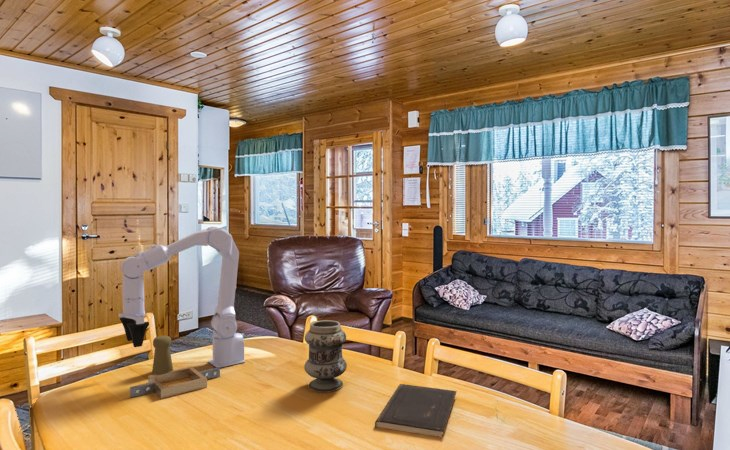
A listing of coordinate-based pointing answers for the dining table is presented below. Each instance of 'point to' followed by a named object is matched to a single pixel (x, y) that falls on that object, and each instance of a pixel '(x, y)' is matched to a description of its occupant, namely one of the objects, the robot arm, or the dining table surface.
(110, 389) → the dining table surface
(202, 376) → the square frame
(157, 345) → the cork
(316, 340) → the apothecary jar
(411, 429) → the hardcover book
